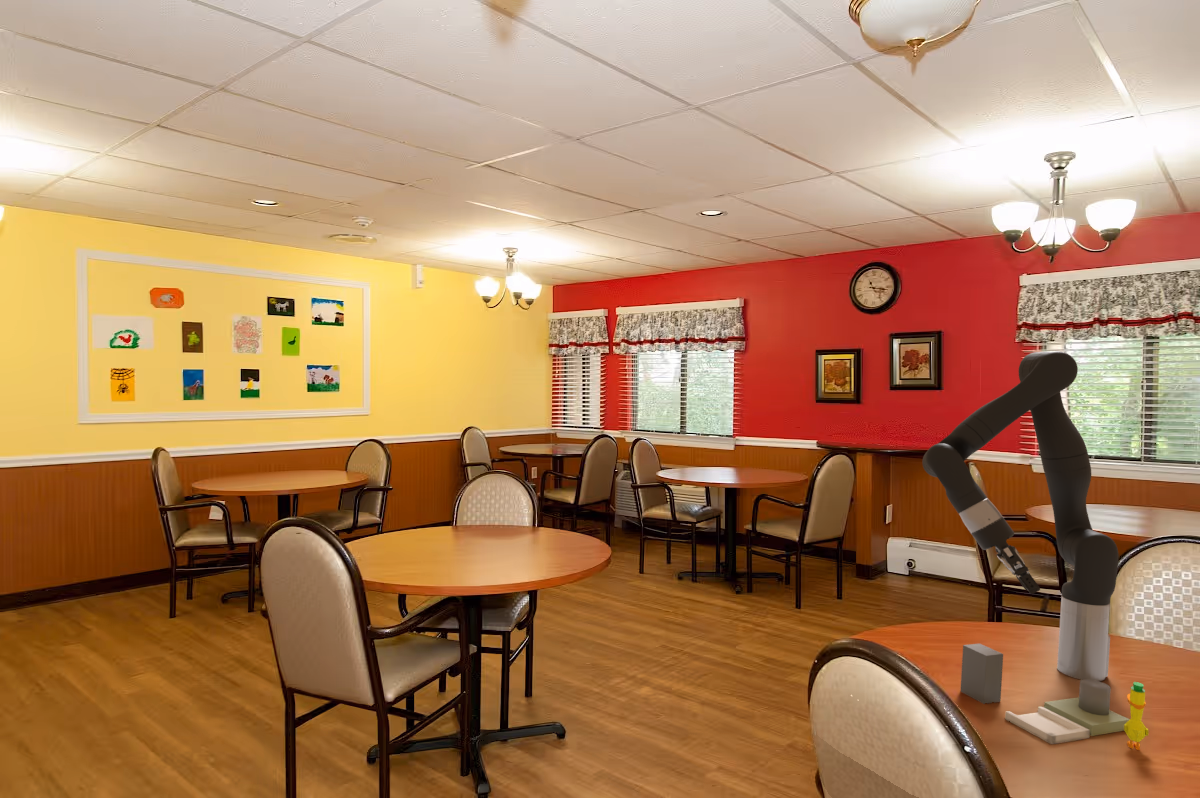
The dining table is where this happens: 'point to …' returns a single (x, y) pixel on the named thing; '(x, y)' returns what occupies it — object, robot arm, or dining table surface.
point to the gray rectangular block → (981, 673)
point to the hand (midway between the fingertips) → (1033, 590)
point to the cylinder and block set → (1073, 716)
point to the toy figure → (1136, 716)
